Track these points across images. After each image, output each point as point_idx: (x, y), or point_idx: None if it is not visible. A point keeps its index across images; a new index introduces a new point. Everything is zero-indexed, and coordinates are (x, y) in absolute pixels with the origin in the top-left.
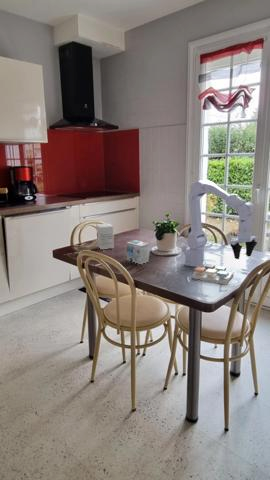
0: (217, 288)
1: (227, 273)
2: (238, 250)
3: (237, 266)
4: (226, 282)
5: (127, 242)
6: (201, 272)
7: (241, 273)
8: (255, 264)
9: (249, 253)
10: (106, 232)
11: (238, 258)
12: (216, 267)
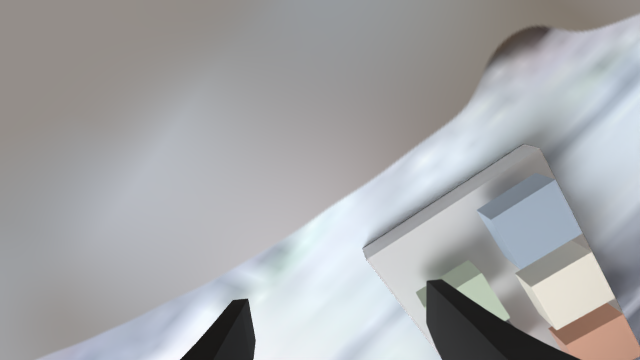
0: (615, 117)
1: (521, 198)
2: (569, 355)
3: None
4: (522, 152)
5: None
6: (610, 308)
7: (291, 253)
8: (89, 340)
9: (239, 333)
10: None
11: (441, 282)
12: None
